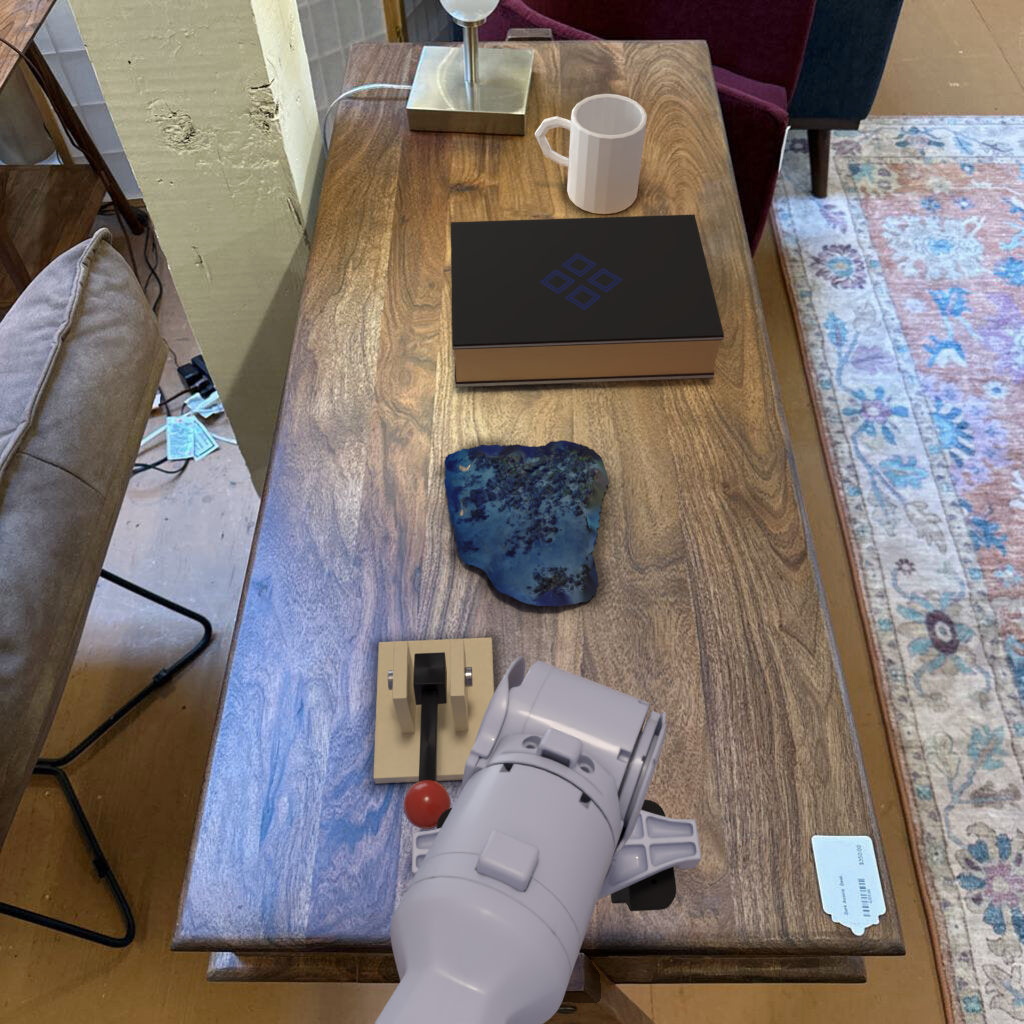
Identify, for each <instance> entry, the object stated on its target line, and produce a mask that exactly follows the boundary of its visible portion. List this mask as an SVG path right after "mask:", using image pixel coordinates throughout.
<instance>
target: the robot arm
mask: <svg viewBox="0 0 1024 1024" xmlns="http://www.w3.org/2000/svg"><path fill="white" fill-rule="evenodd" d="M525 671H526V659H525V657H524V656H523V655H518V656H517V657H516V658H515V659H514V660H513V661H512V663H511V664H510V665H509V667H508V669H507V670H506V672H505V673H504V675H503V677H502V678H501V680H500V682H499V683H498V685H497V687H496V689H495V690H494V694H493V696H492V698H491V701H490V703H489V705H488V707H487V709H486V712H485V714H484V717H483V719H482V722H481V725H480V728H479V730H478V733H477V737H476V740H475V743H474V746H473V747H472V749H471V752H470V755H469V757H468V759H467V761H466V764H465V769H464V775H463V780H461V787H460V792H459V795H458V797H457V799H456V800H455V803H454V804H453V805H452V807H450V808H449V809H447V810H445V811H444V812H443V813H442V814H441V816H440V817H439V819H438V822H437V827H436V828H434V829H429V830H421V831H413V832H412V834H411V874H412V877H413V878H412V880H411V881H410V883H409V885H408V886H407V889H406V891H404V894H403V896H402V898H401V900H400V901H399V903H398V905H397V906H396V909H395V910H394V912H393V914H392V917H391V921H390V927H389V933H390V934H389V936H390V943H391V949H392V953H393V957H394V962H395V966H396V971H397V973H398V977H399V981H400V982H399V983H398V985H397V987H396V988H395V990H394V991H393V993H392V994H391V995H390V996H391V997H389V999H388V1001H387V1002H386V1004H385V1005H384V1007H383V1009H382V1010H381V1012H380V1014H379V1015H378V1017H377V1019H376V1020H375V1022H374V1024H545V1023H546V1022H548V1021H549V1020H550V1019H551V1018H552V1017H553V1016H554V1015H556V1013H557V1012H558V1010H559V1009H560V1007H561V1005H562V1004H563V1001H564V997H565V995H566V992H567V989H568V985H569V983H570V979H571V976H572V974H573V971H574V969H575V965H576V963H577V960H578V957H579V954H580V952H581V948H582V946H583V942H584V939H585V937H586V934H587V931H588V928H589V925H590V923H591V921H592V917H593V914H594V911H595V908H596V906H597V903H598V901H599V900H601V899H603V898H606V897H608V896H610V901H611V904H625V905H626V906H627V907H628V910H629V912H644V911H645V912H646V911H648V912H649V911H663V910H665V909H669V908H670V907H671V905H672V903H673V902H674V900H675V898H676V895H677V883H676V876H675V875H676V874H675V868H677V869H679V870H688V869H689V870H692V869H695V868H697V866H698V864H699V863H700V861H701V860H702V851H701V846H700V838H699V833H698V825H697V821H696V819H695V818H673V817H668V816H666V813H665V811H664V809H663V807H662V806H661V805H660V804H659V803H658V802H656V801H653V800H650V799H646V797H647V794H648V791H649V789H650V785H651V782H652V779H653V776H654V774H655V770H656V769H657V764H658V762H659V759H660V756H661V753H662V750H663V747H664V744H665V740H666V737H667V726H668V725H667V724H668V723H666V720H667V712H665V711H662V713H659V712H657V711H655V710H651V711H650V712H649V710H650V707H651V702H649V701H646V700H644V699H641V698H638V697H635V696H633V695H631V694H628V693H625V692H622V691H620V690H618V689H615V688H612V687H610V686H608V685H604V684H602V683H599V682H597V681H594V680H592V679H589V678H586V677H584V676H581V675H579V674H576V673H573V672H571V671H568V670H565V669H564V668H561V667H558V666H555V665H552V664H550V663H548V662H545V661H542V660H537V661H534V663H533V664H532V666H531V667H530V668H529V670H528V671H527V673H526V675H525ZM647 717H648V718H647ZM646 719H647V720H646ZM674 867H675V868H674Z"/></svg>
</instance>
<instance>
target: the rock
mask: <svg viewBox="0 0 1024 1024" xmlns="http://www.w3.org/2000/svg"><path fill="white" fill-rule="evenodd" d="M443 462H444V468H445V469H444V471H445V474H444V488H445V490H446V491H445V493H446V497H447V510H448V514H449V515H448V516H449V519H450V522H451V526H452V527H453V532H454V538H455V544H456V547H457V551H458V556H459V559H461V561H462V562H463V564H465V566H467V565H468V566H474V567H475V568H478V569H481V570H482V571H483V572H484V573H486V576H487V578H488V579H489V580H490V581H491V584H492V585H493V586H494V588H495V590H496V592H497V593H499V594H502V595H506V596H508V597H510V598H513V599H515V600H517V601H519V602H521V603H524V604H527V605H533V606H536V607H547V606H549V607H558V608H560V607H564V606H566V605H577V604H580V603H587V602H589V601H590V600H591V599H592V598H593V597H595V596H597V591H598V587H599V584H600V583H599V575H598V574H599V573H598V571H597V566H596V563H595V562H596V561H595V558H594V555H593V552H595V545H597V537H598V535H599V534H598V528H600V522H599V521H600V519H601V516H600V512H602V506H603V504H604V502H603V499H604V498H605V493H606V492H607V491H608V488H607V486H608V485H609V484H610V480H609V476H608V471H607V469H606V467H605V464H604V460H603V458H602V455H600V454H599V453H597V451H596V450H595V449H593V448H590V447H588V446H587V445H584V444H581V443H577V442H575V441H574V442H573V441H569V440H566V439H565V440H563V439H561V440H557V441H556V440H553V441H549V442H547V443H546V444H545V445H539V446H537V445H533V446H529V445H522V444H508V445H505V444H503V445H500V444H490V445H489V444H480V445H478V446H473V447H469V448H461V449H459V450H456V451H454V452H452V453H449V454H448V455H446V456H445V459H444V461H443ZM461 467H463V468H465V469H466V470H462V469H461ZM461 511H462V515H460V513H461Z"/></svg>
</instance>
